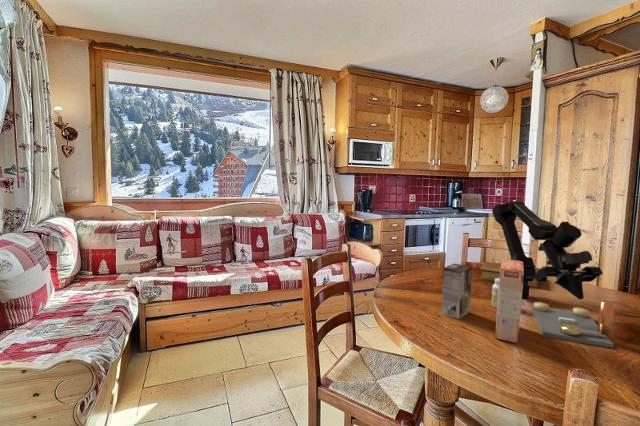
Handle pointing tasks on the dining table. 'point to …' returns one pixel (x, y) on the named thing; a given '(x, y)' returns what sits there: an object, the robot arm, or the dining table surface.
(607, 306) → the screw handle
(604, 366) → the dining table surface
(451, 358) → the dining table surface
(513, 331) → the cracker box
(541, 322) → the base
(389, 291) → the dining table surface
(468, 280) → the coffee box
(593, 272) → the robot arm
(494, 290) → the supplement bottle
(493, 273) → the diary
